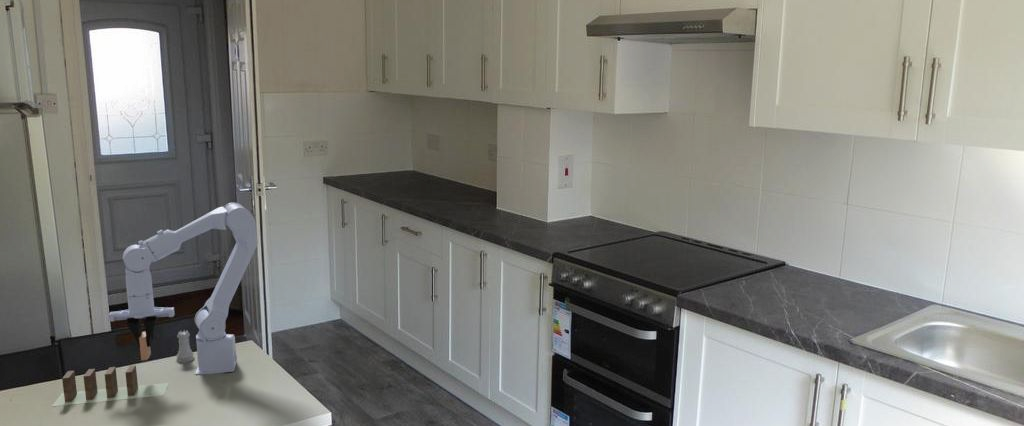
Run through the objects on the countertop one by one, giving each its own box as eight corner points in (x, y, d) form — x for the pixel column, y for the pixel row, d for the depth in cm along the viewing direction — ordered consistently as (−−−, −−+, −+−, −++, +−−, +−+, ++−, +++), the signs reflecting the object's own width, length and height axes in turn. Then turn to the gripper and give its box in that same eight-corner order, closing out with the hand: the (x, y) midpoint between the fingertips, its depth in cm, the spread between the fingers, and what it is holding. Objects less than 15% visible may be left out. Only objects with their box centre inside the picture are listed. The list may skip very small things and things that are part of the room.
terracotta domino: (150, 353, 192) (148, 331, 191) (147, 360, 188) (145, 336, 187) (144, 354, 192) (142, 331, 191) (141, 360, 188) (139, 337, 187)
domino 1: (77, 394, 183) (74, 370, 182) (71, 401, 178) (68, 377, 177) (70, 394, 182) (67, 371, 181) (64, 402, 178) (62, 378, 177)
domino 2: (97, 392, 184) (95, 368, 183) (92, 399, 180) (90, 375, 178) (91, 392, 183) (88, 369, 182) (86, 400, 179) (83, 376, 178)
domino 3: (117, 390, 185) (115, 366, 184) (113, 397, 181) (111, 373, 180) (111, 390, 185) (109, 367, 183) (107, 398, 180) (104, 374, 179)
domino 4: (138, 388, 186) (135, 365, 185) (134, 395, 182) (131, 372, 181) (131, 388, 186) (129, 365, 185) (127, 396, 181) (125, 372, 180)
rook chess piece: (197, 357, 207) (194, 329, 205) (190, 363, 202) (188, 334, 201) (180, 357, 207) (178, 329, 205) (173, 363, 202) (171, 335, 201)
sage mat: (169, 383, 189) (169, 382, 189) (163, 396, 182) (163, 395, 182) (62, 394, 183) (62, 392, 183) (51, 407, 176) (51, 406, 176)
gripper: (103, 300, 181) (109, 354, 184) (168, 296, 185) (173, 348, 188) (110, 292, 188) (116, 344, 191) (173, 288, 192) (178, 339, 194)
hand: (145, 345), depth 190 cm, fingers closed on terracotta domino, 1 cm apart
